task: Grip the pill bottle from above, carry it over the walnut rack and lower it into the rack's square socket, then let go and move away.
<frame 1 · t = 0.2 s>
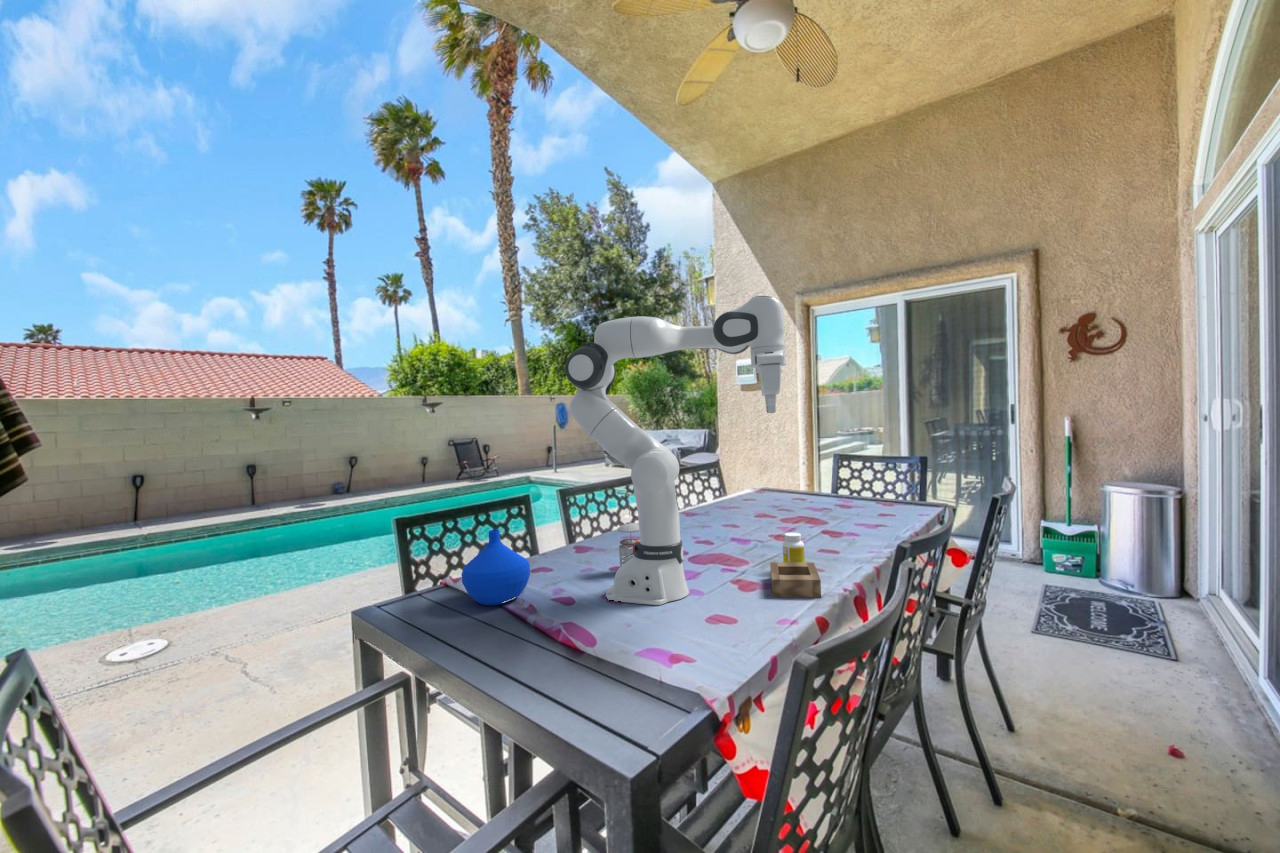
hand: (770, 413, 141), 47 cm above the table, tool pointing down, fingers open, 8 cm apart
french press: (635, 572, 170), on the table
walnut rack: (794, 587, 148), on the table
vase: (498, 600, 151), on the table
pill bottle: (794, 571, 162), on the table
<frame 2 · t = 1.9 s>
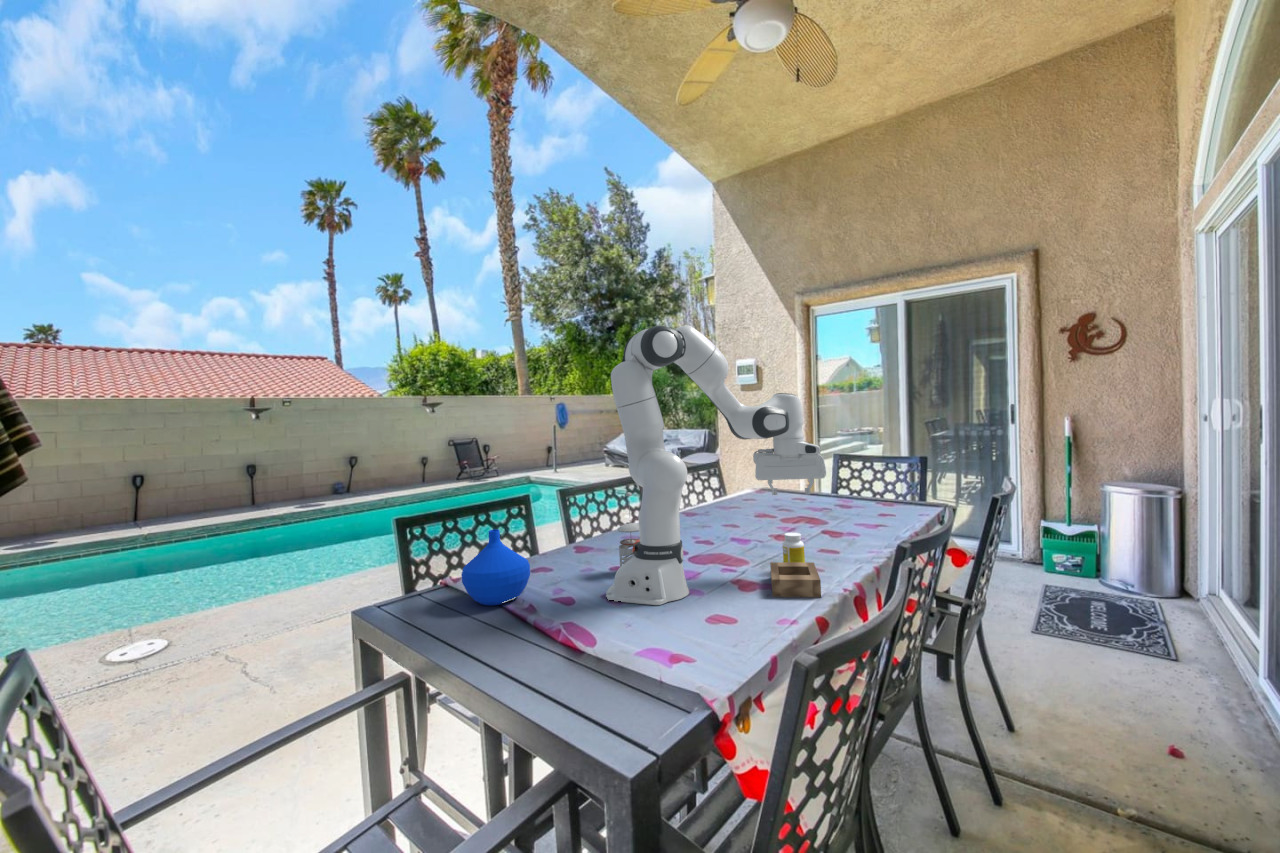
hand: (791, 494, 162), 23 cm above the table, tool pointing down, fingers open, 8 cm apart
nothing on the table moved.
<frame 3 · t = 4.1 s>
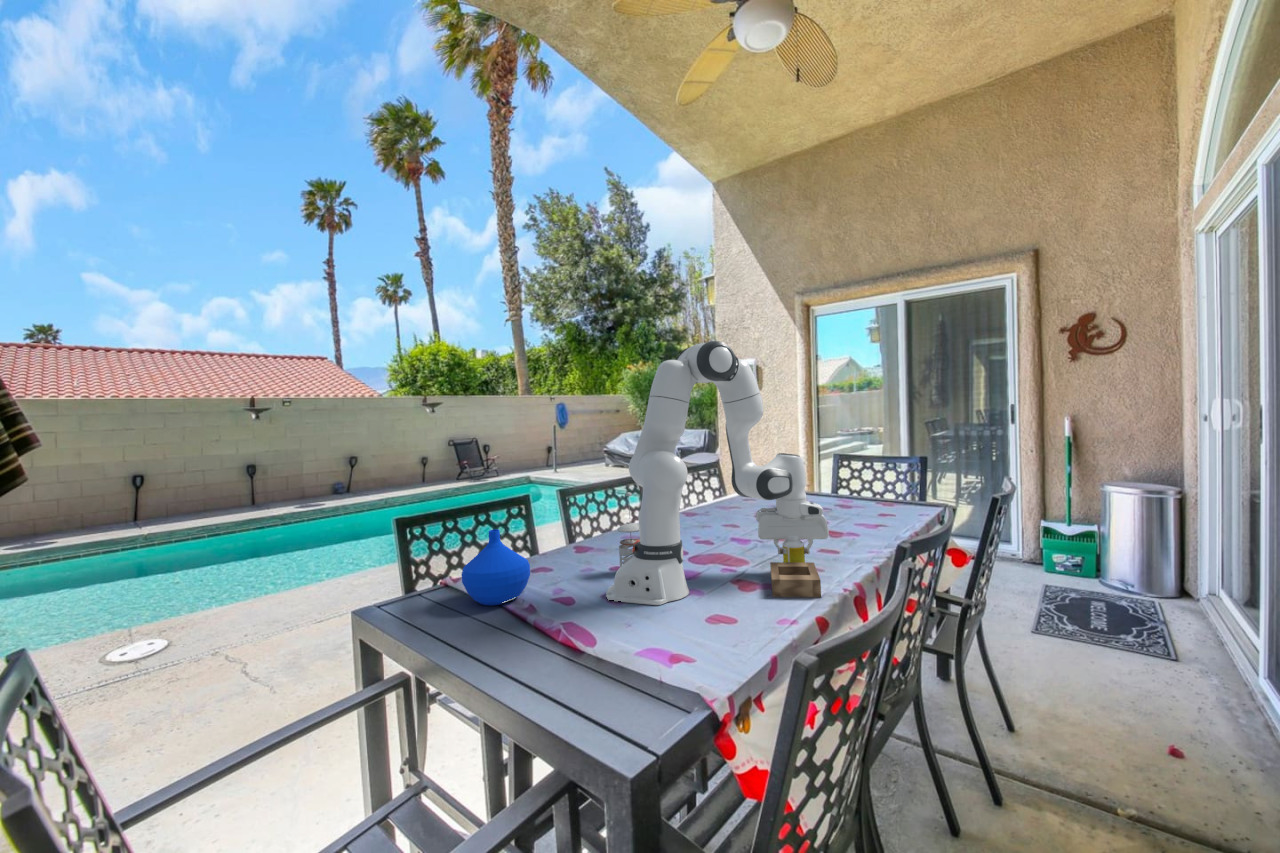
hand: (793, 553, 162), 5 cm above the table, tool pointing down, fingers closed on pill bottle, 6 cm apart
pill bottle: (794, 571, 162), on the table, touching gripper
everything else where it was.
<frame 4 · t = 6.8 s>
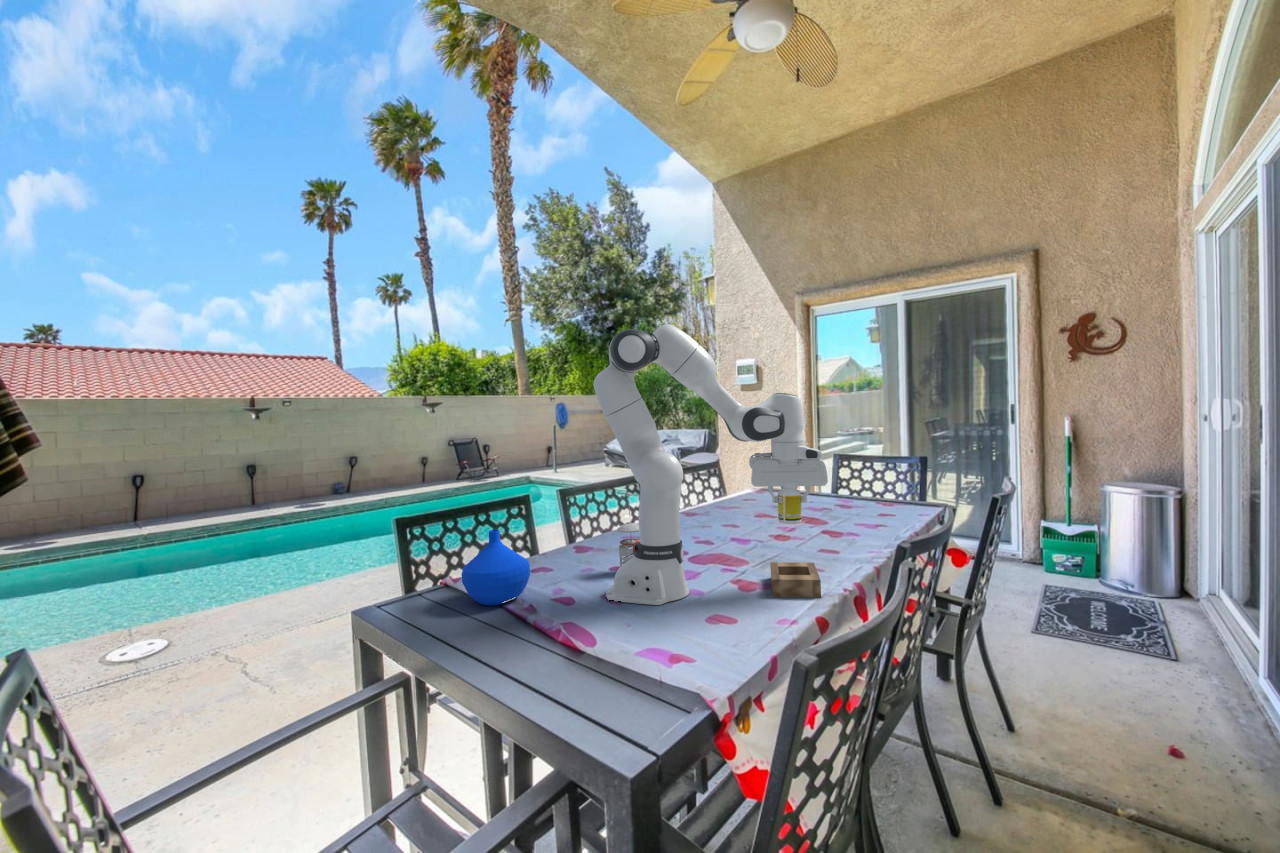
hand: (789, 502, 150), 23 cm above the table, tool pointing down, fingers closed on pill bottle, 6 cm apart
pill bottle: (789, 522, 150), point 17 cm above the table, touching gripper
everything else where it was.
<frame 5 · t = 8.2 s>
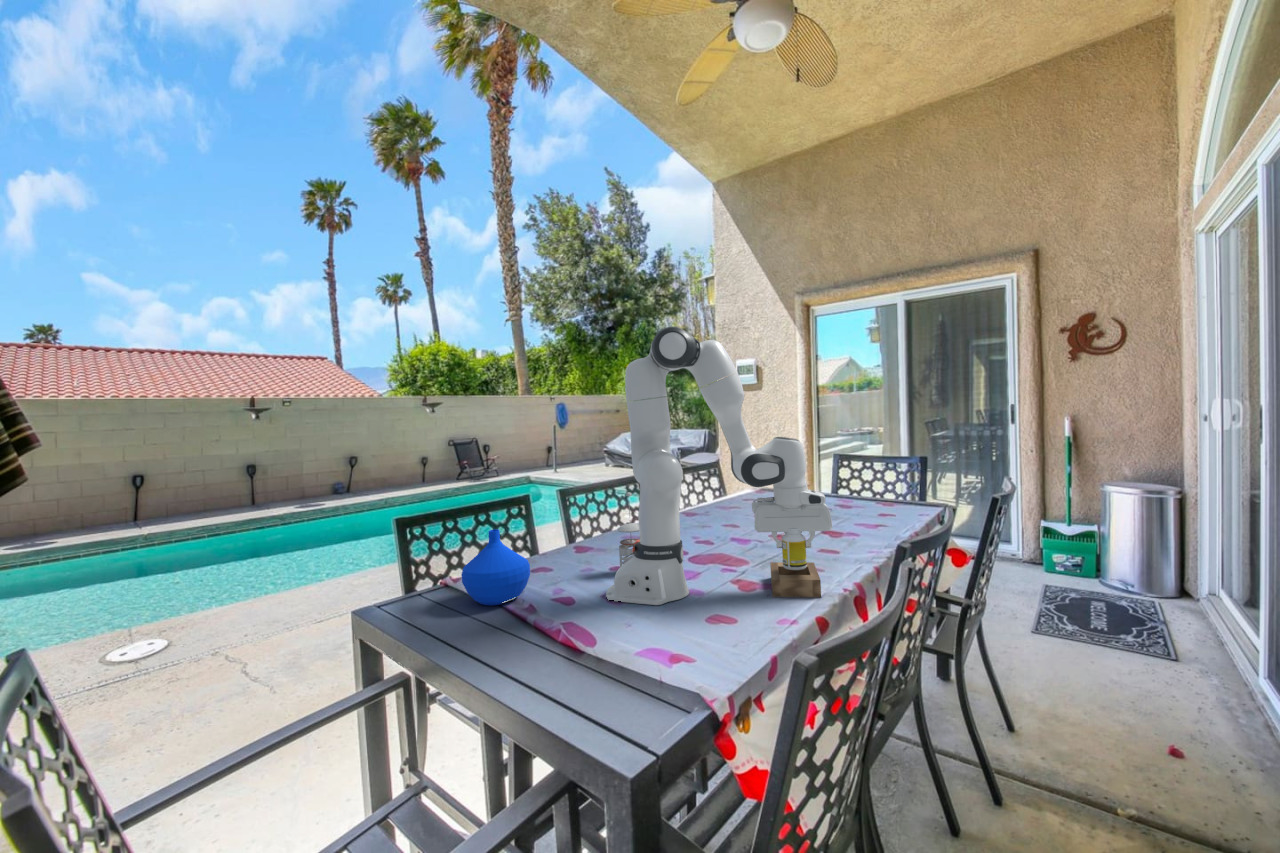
hand: (793, 547, 148), 11 cm above the table, tool pointing down, fingers closed on pill bottle, 6 cm apart
pill bottle: (794, 568, 148), point 5 cm above the table, touching gripper
everything else where it was.
when the fingers open (6 cm above the table, at t = 9.6 s): pill bottle stays where it is, resting in walnut rack.
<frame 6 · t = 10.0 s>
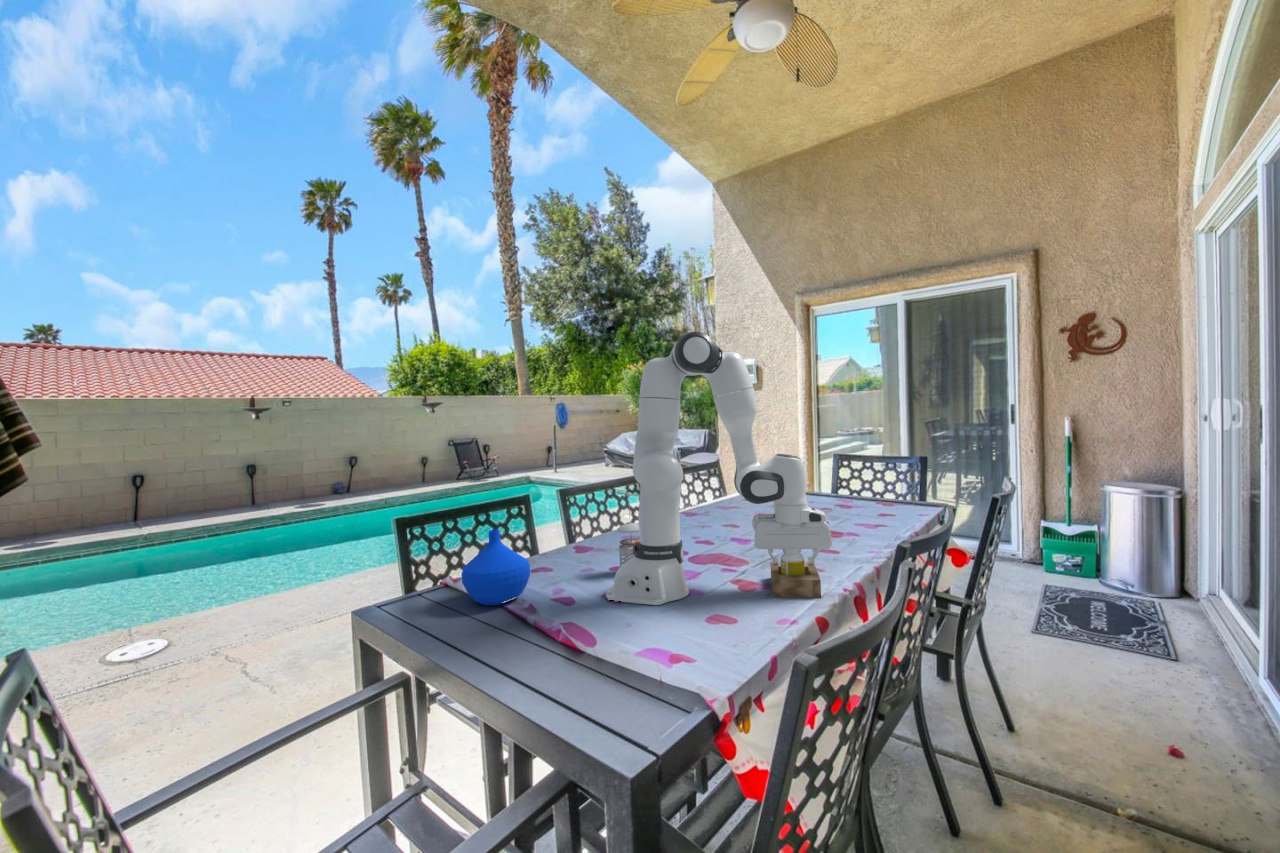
hand: (793, 564, 148), 6 cm above the table, tool pointing down, fingers open, 8 cm apart
pill bottle: (793, 587, 148), resting in walnut rack
everything else where it was.
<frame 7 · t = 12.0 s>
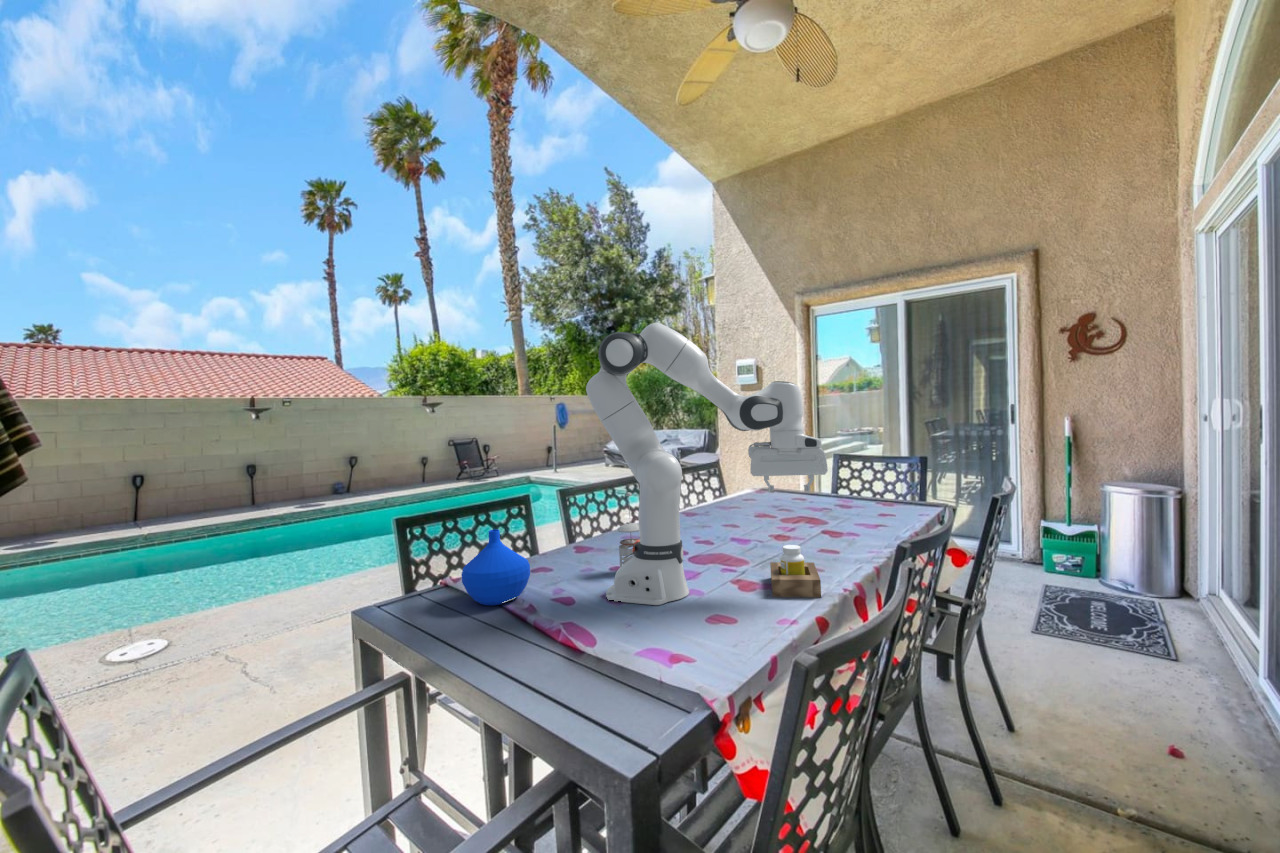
hand: (789, 492, 148), 26 cm above the table, tool pointing down, fingers open, 8 cm apart
nothing on the table moved.
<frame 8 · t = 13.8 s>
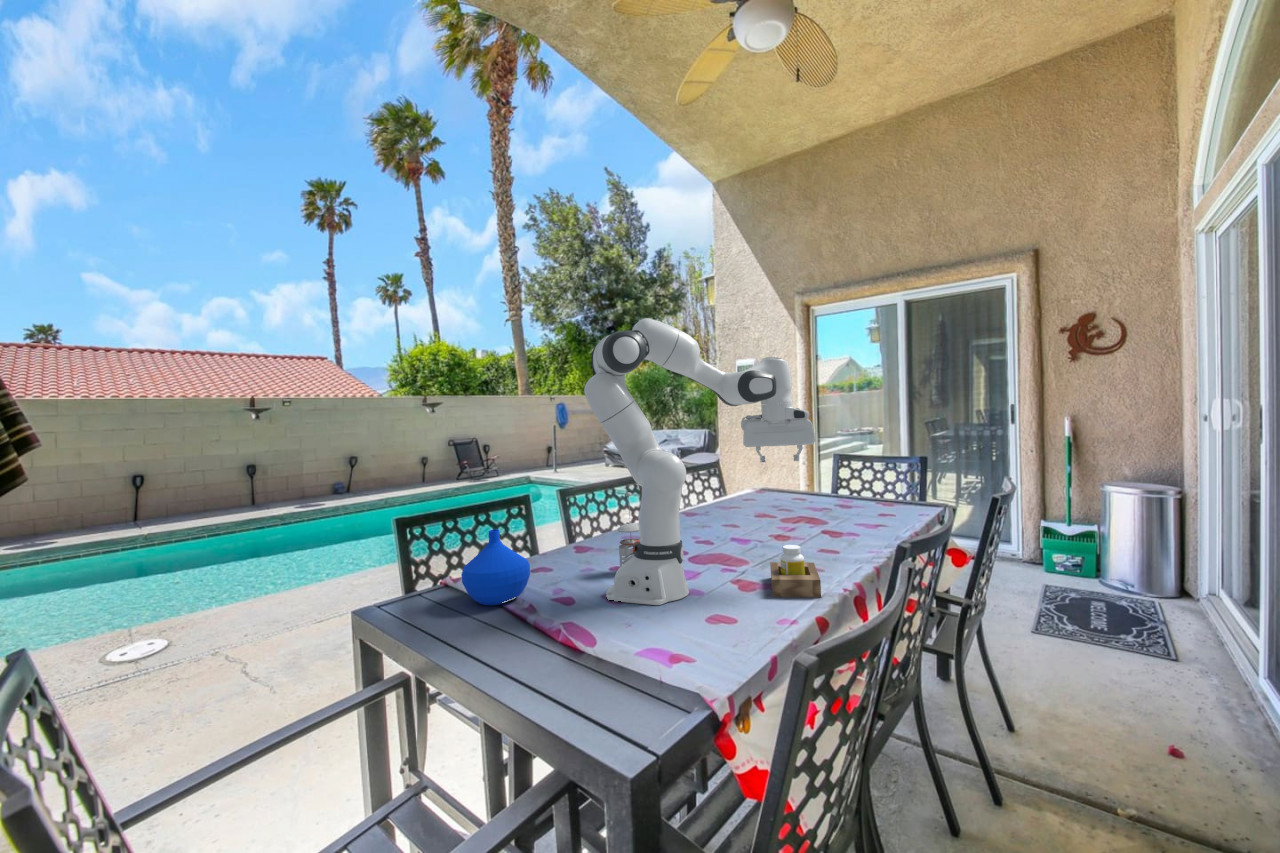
hand: (779, 461, 158), 33 cm above the table, tool pointing down, fingers open, 8 cm apart
nothing on the table moved.
at the end: pill bottle 0.3 cm off-centre on the walnut rack, point 0.0 cm above the walnut rack's base; pill bottle tilted 0°; the gripper is holding nothing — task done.
